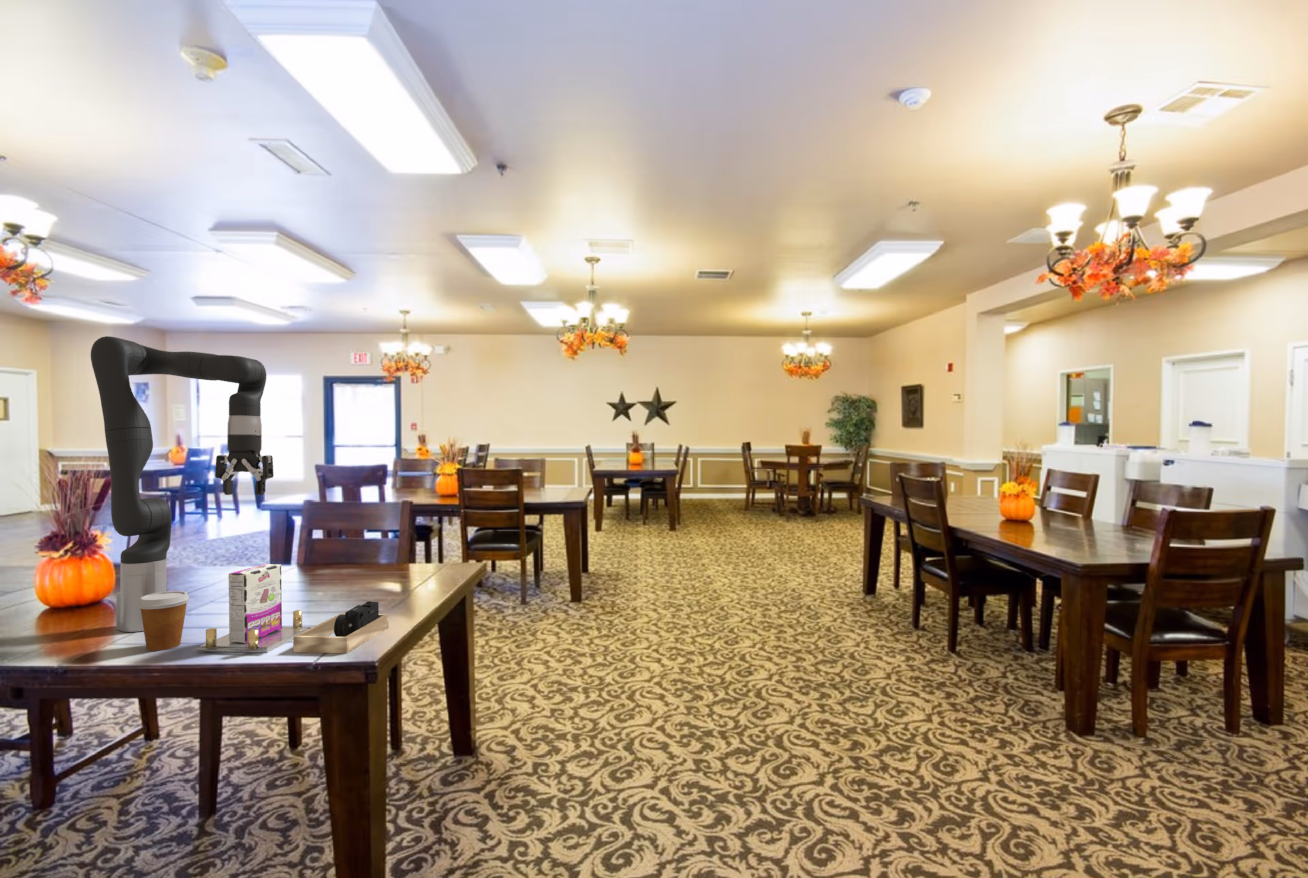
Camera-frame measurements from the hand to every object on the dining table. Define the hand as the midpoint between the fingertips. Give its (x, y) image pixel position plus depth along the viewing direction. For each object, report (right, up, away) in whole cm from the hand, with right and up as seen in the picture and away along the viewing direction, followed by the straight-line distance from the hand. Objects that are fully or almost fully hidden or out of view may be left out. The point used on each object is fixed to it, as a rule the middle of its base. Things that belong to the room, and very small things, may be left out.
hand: (244, 494), depth 164 cm
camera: (+34, -34, -10) cm, 50 cm away
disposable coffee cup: (-7, -34, -18) cm, 39 cm away
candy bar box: (+12, -33, -14) cm, 38 cm away
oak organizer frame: (+32, -34, -12) cm, 48 cm away
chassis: (+12, -34, -14) cm, 39 cm away
